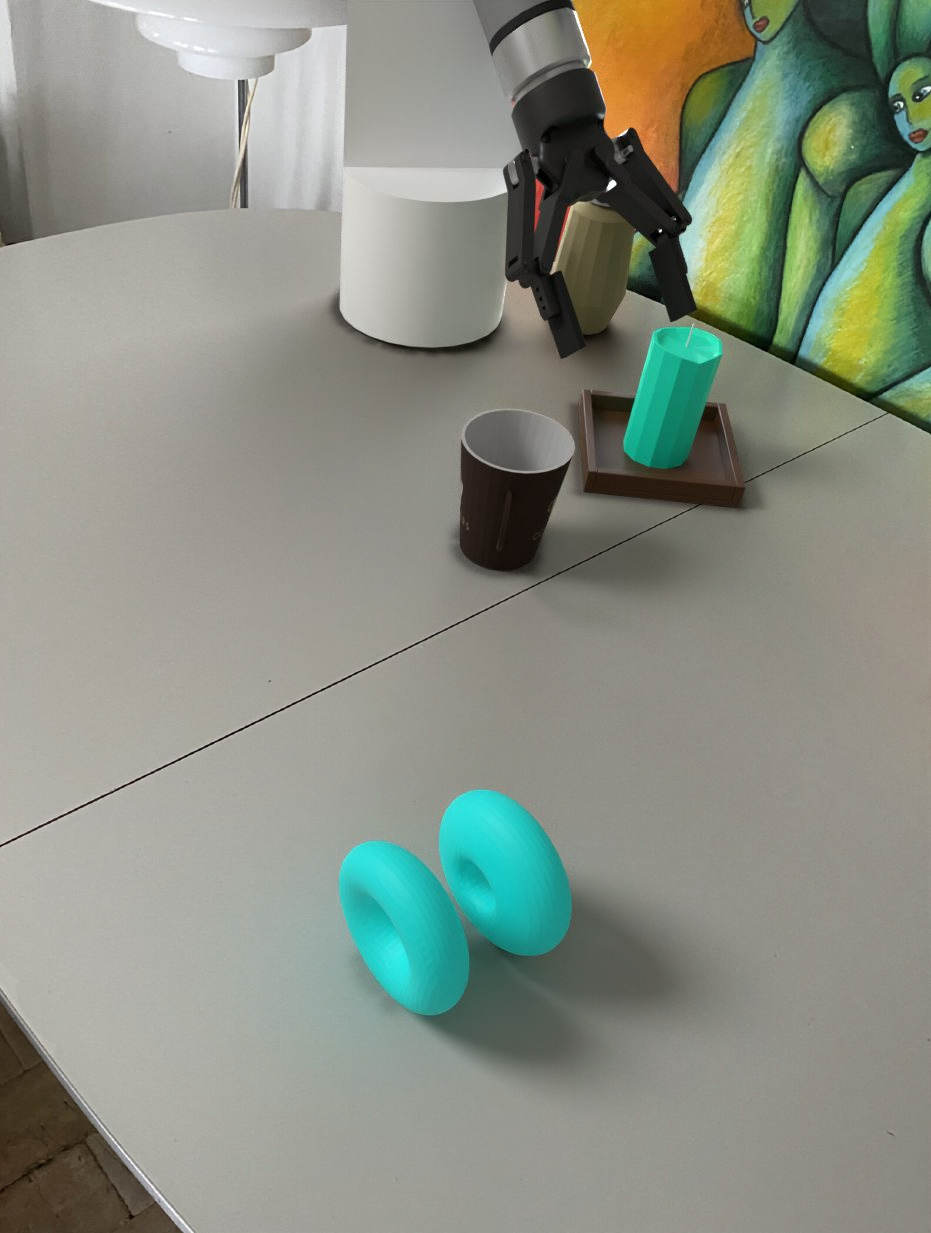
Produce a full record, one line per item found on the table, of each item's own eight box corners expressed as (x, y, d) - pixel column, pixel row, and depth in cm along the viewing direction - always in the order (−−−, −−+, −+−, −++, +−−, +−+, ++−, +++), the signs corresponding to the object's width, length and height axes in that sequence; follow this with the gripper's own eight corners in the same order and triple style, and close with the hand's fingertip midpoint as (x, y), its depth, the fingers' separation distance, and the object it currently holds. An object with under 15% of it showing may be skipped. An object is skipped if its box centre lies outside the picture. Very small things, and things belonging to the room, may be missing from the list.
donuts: (562, 971, 62) (600, 874, 54) (421, 1056, 58) (442, 964, 50) (461, 851, 67) (483, 747, 59) (326, 920, 63) (331, 819, 56)
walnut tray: (719, 422, 102) (725, 403, 100) (738, 507, 93) (746, 487, 91) (577, 408, 102) (582, 388, 100) (583, 491, 93) (588, 471, 92)
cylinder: (332, 273, 118) (338, -36, 97) (485, 272, 119) (523, -31, 99) (347, 348, 106) (358, 15, 85) (516, 346, 108) (567, 19, 87)
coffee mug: (480, 501, 91) (498, 395, 84) (568, 541, 88) (594, 435, 81) (405, 568, 85) (416, 460, 77) (497, 614, 82) (518, 507, 74)
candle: (616, 458, 96) (651, 331, 87) (629, 425, 99) (664, 300, 90) (682, 475, 95) (724, 348, 85) (693, 441, 98) (734, 316, 89)
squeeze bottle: (632, 330, 113) (680, 146, 99) (576, 348, 110) (617, 161, 96) (582, 297, 117) (621, 117, 103) (526, 314, 114) (559, 130, 100)
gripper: (626, 92, 99) (697, 316, 103) (412, 135, 89) (498, 383, 92) (684, 43, 92) (757, 285, 96) (458, 84, 82) (550, 353, 86)
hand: (630, 334), depth 94 cm, fingers open, 13 cm apart
